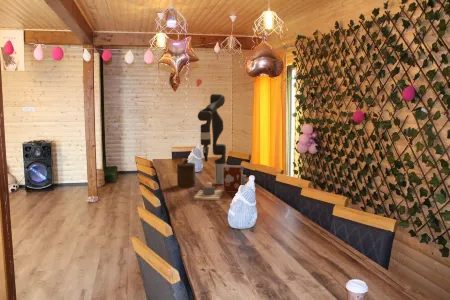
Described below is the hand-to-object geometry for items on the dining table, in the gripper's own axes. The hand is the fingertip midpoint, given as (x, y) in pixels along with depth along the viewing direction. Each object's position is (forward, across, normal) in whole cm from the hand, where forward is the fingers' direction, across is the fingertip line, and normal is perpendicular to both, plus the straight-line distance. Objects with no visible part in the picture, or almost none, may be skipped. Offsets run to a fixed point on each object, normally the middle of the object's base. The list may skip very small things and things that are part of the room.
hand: (206, 161), depth 301 cm
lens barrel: (+23, +8, +3) cm, 24 cm away
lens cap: (+23, +7, +3) cm, 24 cm away
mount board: (+24, +8, +3) cm, 26 cm away
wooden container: (+26, -26, -21) cm, 42 cm away
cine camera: (+25, -8, +22) cm, 34 cm away
